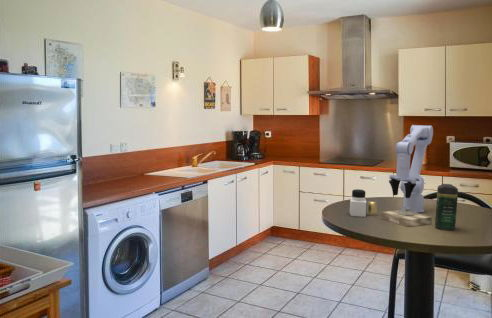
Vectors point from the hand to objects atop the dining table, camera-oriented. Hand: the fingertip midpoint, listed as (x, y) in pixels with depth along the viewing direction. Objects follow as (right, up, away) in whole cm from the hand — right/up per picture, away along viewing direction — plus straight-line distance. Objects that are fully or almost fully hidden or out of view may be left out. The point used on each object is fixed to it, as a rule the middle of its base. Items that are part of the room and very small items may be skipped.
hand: (401, 196), depth 206 cm
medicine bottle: (-20, -9, +2) cm, 22 cm away
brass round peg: (-13, -9, +4) cm, 16 cm away
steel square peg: (-1, -10, -8) cm, 14 cm away
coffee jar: (+12, -12, -19) cm, 25 cm away
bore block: (-1, -10, -8) cm, 13 cm away
